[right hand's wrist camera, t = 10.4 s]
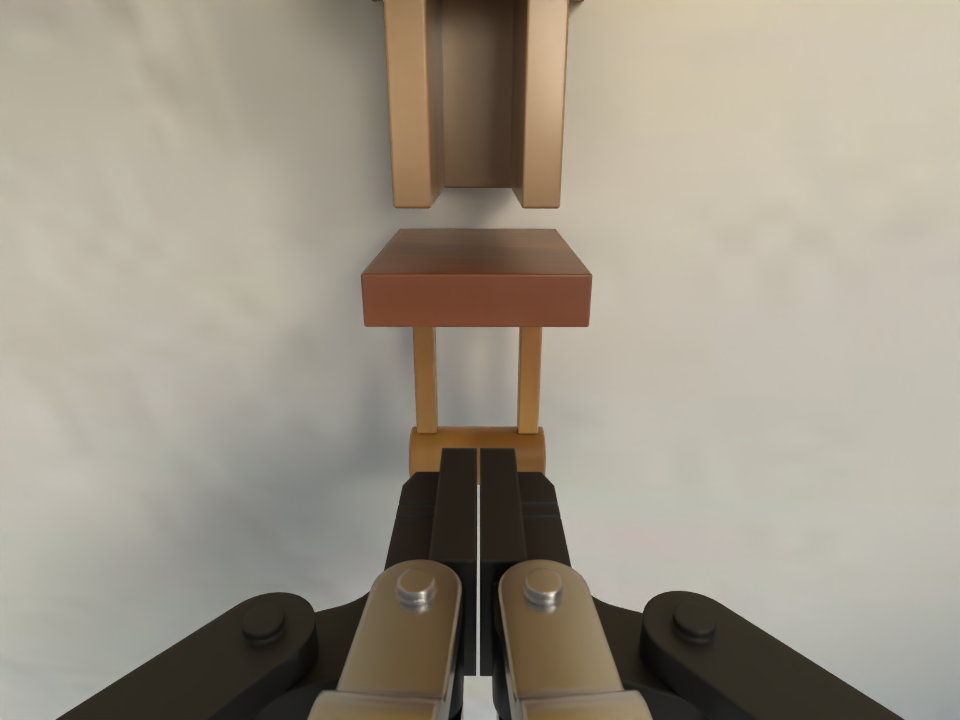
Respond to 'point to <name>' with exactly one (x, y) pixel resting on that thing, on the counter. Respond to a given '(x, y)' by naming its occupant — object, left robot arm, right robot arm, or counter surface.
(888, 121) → the counter surface
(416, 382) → the drawer
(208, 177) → the counter surface
